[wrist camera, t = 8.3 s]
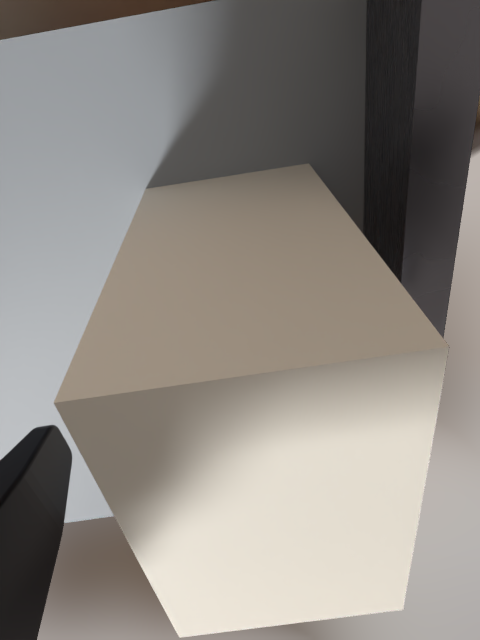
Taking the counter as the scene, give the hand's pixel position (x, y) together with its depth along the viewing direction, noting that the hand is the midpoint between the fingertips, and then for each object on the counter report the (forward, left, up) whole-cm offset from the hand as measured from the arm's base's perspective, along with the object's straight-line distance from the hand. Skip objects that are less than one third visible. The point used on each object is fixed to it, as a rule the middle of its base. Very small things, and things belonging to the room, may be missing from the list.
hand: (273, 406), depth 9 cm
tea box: (0, 0, -5) cm, 5 cm away
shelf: (-3, -2, -8) cm, 9 cm away
